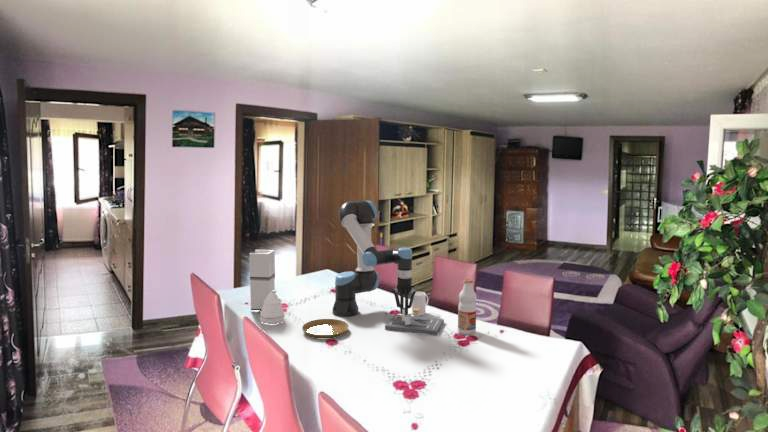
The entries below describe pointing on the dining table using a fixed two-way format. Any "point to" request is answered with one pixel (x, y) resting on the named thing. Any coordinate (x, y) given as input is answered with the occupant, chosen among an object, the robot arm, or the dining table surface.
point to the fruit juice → (467, 309)
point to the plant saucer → (337, 325)
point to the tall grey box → (261, 276)
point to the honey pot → (272, 309)
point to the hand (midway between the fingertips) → (404, 320)
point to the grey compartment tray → (415, 325)
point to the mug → (419, 302)
